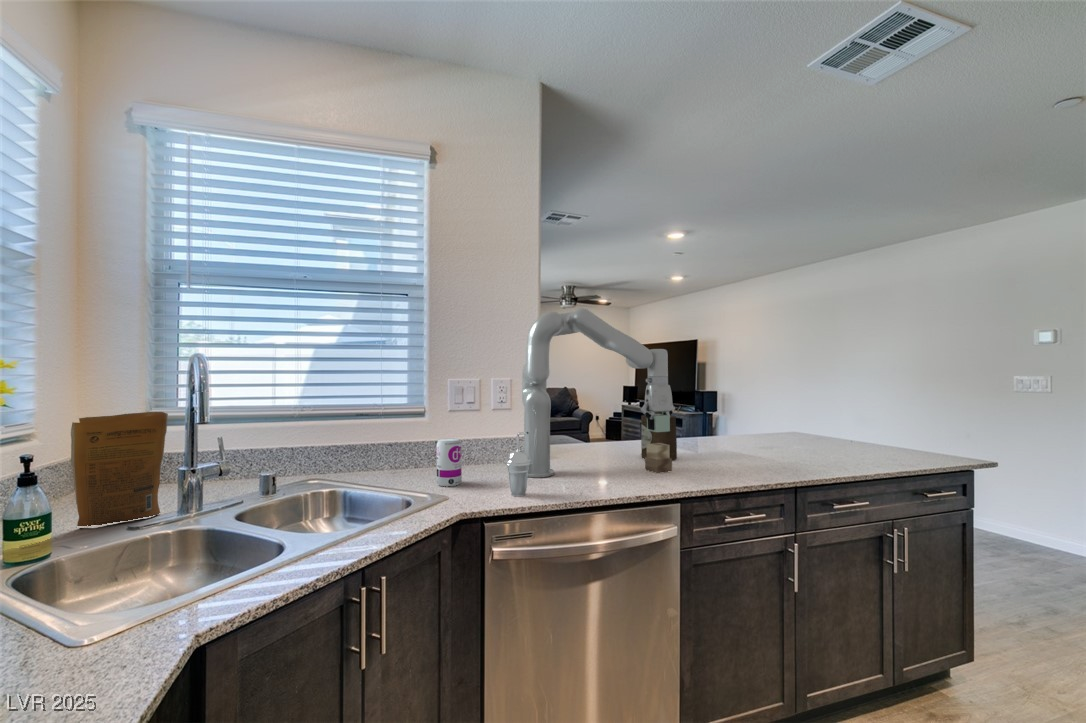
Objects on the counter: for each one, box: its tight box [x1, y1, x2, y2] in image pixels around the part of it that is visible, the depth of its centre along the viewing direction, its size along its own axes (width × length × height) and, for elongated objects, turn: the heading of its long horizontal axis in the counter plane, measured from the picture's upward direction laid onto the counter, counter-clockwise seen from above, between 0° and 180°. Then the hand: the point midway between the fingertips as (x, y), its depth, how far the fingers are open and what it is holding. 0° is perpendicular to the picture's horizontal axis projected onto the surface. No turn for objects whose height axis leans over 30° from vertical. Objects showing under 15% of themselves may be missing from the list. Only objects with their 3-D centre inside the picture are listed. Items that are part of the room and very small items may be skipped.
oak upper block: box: [647, 443, 670, 460], centre depth 185 cm, size 6×6×5 cm
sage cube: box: [647, 414, 670, 432], centre depth 185 cm, size 6×6×6 cm
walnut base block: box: [644, 457, 673, 474], centre depth 185 cm, size 7×7×5 cm
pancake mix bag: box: [70, 411, 169, 527], centre depth 125 cm, size 7×19×28 cm, turn 137°
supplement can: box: [436, 437, 463, 488], centre depth 165 cm, size 8×8×15 cm
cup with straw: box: [504, 431, 532, 497], centre depth 151 cm, size 8×9×20 cm
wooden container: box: [640, 412, 678, 461], centre depth 210 cm, size 15×15×22 cm
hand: (658, 428), depth 185 cm, fingers closed on sage cube, 6 cm apart
